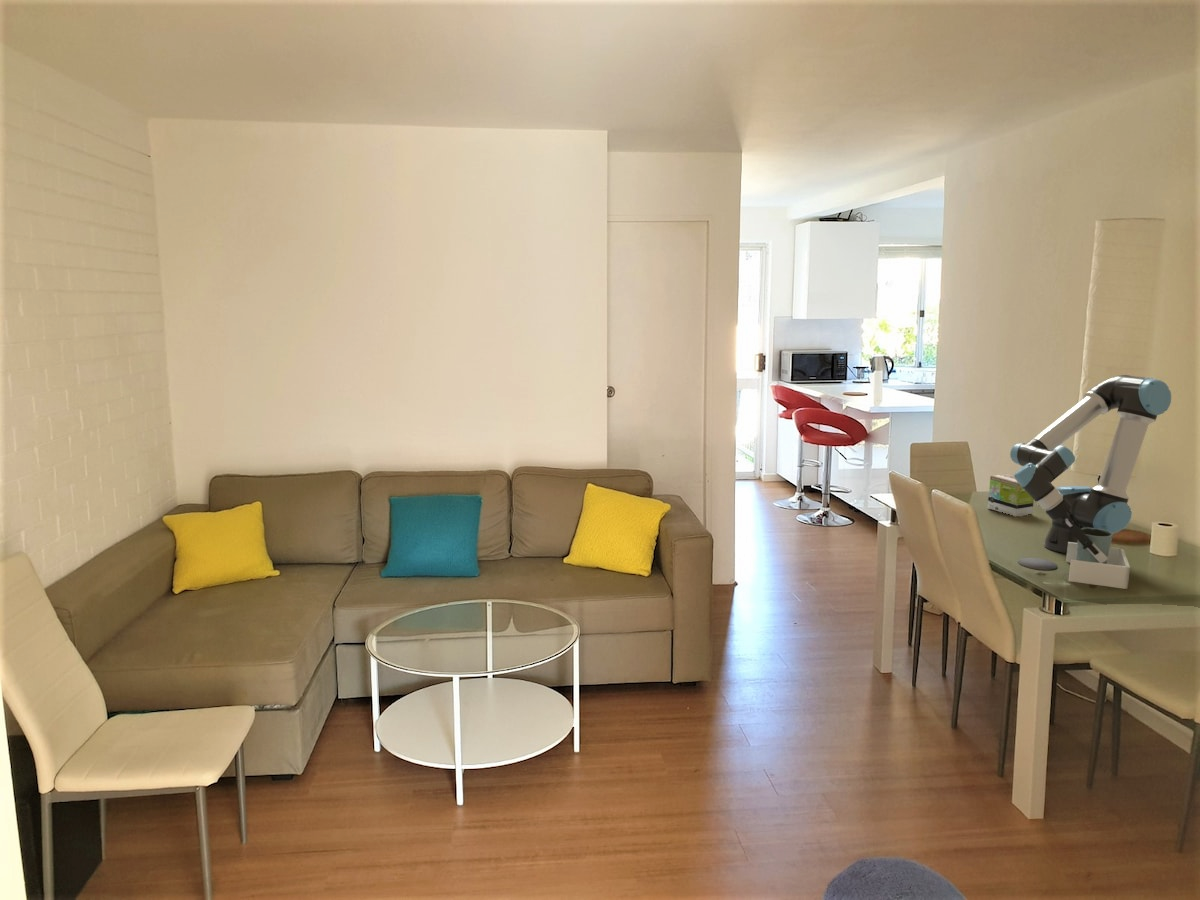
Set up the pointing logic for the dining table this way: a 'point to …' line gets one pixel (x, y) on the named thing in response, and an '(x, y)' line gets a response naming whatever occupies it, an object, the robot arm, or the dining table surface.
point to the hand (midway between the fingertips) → (1103, 556)
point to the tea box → (1009, 496)
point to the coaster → (1037, 563)
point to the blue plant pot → (1099, 539)
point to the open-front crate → (1099, 568)
